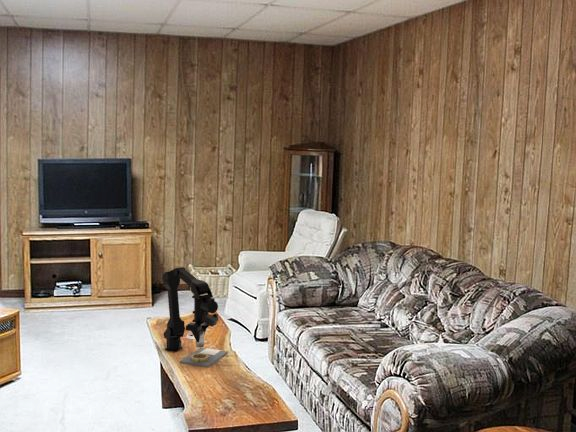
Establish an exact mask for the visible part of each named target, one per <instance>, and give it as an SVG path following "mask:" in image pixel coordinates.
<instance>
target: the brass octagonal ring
mask: <svg viewBox="0 0 576 432" xmlns="http://www.w3.org/2000/svg"><path fill="white" fill-rule="evenodd" d="M197 357H203V358H197ZM190 360H191V361H193V362H206V361H208V360H209V356H208V355H207V354H203V353H198V354H193V355H191V356H190Z"/></svg>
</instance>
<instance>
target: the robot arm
mask: <svg viewBox="0 0 576 432" xmlns="http://www.w3.org/2000/svg"><path fill="white" fill-rule="evenodd" d="M181 280H182V282H184V283H185V284H186V285H187V286H188V287H190V292H191V293H192V294H193V295H192V296H191V298H192V299H194V301H193V303H194V307H193V311H192V314H193V319H192V322H189V323H187V324H186V325H185V321H184V320H183V319H182V318H181V316H180V315H181V313H180V304H179V293H178V291H179V290H178V288H179V286H180V284H181ZM162 282H163V285H164V287H165V288H166V291H167V297H168V298H167V299H168V300H167V301H168V311H169V312H168V313H169V319H168V321H167V325H166V329H165V331H164V332H163V333H162V334H163V338H164V339H165V340H166V347H165V349H164V350H165V351H169V352H176V353H177V352H178V351H180V350H181V349H182V348H183V347H182V339H181V338H183V337H184V334H185V331H189V332H192V333H193V335H194V337H195V339H196V340H195V342H196V341H197V342H199V340H200V333H201V331H204V336H205V335H206V332H207V330H208V328H209V327H211V328H213V327H215V326H216V325H217V323H218V322H220V320H219V314H218V313H216V312H217V311H218V308H219V305H218V302H217V301H216V300H215V298H214V297H213V292H212V291H211V288H210V286H209V284H208V283H207V282H206V281H204V280H202V279H198V278H197V277H195V276H194V275H193V274H192V273H191V272H189V270H187V269H186V268H185V267H183V266H178V267H175V268H173V269H171V270H169V271H164V273H162ZM209 313H210V314H209Z"/></svg>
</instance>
